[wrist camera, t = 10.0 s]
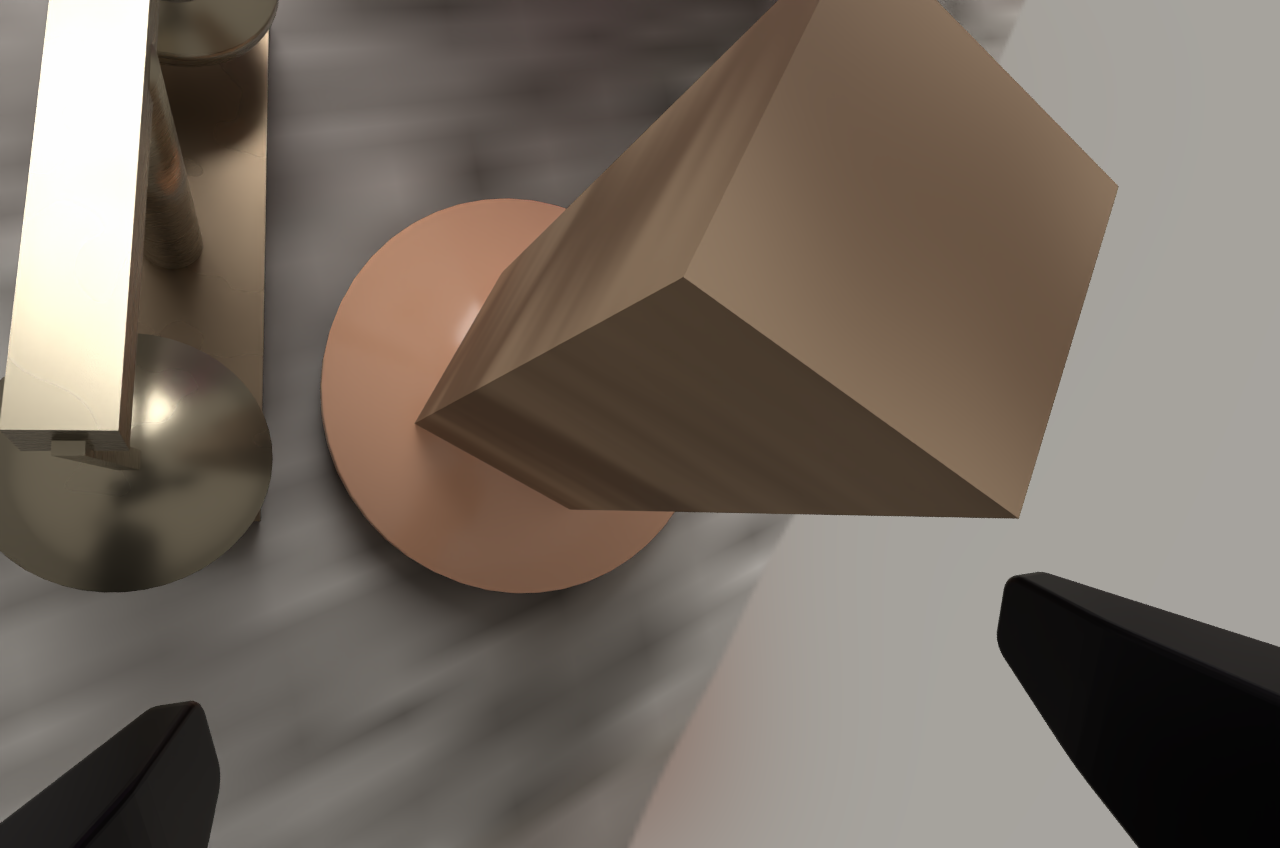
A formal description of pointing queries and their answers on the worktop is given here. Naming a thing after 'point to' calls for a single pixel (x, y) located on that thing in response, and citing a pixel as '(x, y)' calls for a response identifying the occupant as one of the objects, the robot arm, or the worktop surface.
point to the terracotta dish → (426, 464)
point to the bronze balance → (140, 296)
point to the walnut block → (798, 288)
